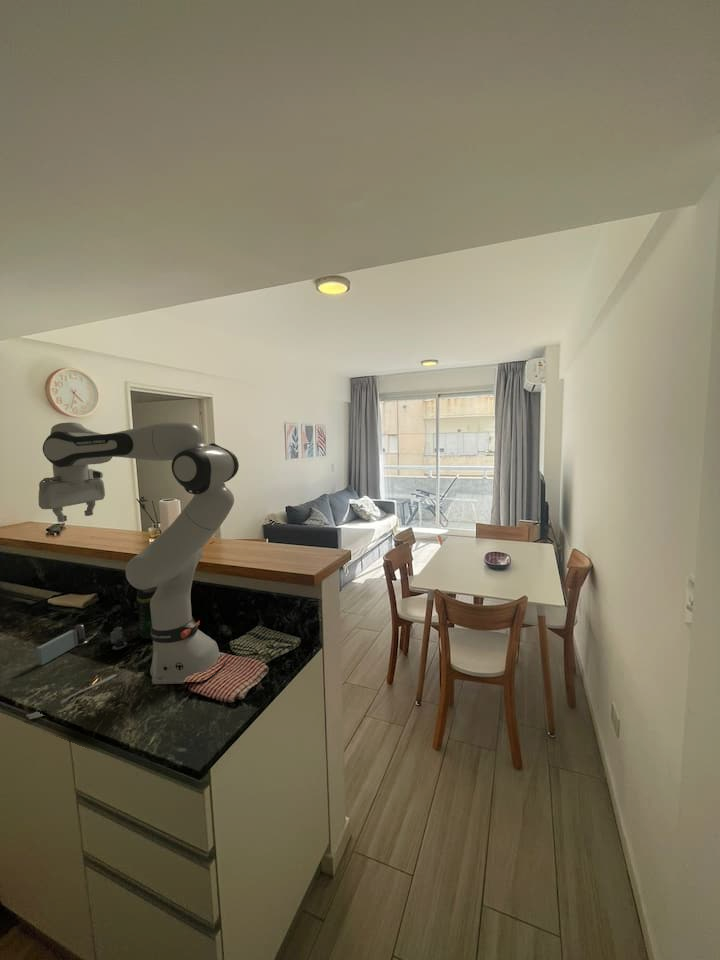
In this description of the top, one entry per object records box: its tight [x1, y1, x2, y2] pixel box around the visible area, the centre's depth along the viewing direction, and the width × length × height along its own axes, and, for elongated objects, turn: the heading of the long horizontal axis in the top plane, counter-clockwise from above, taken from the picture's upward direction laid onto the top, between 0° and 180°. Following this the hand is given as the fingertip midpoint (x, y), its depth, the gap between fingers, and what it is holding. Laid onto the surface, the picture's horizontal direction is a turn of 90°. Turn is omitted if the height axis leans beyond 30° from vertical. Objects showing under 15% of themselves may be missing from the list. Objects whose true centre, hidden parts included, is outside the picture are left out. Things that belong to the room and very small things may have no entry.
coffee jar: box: [136, 586, 158, 640], centre depth 137 cm, size 10×8×19 cm
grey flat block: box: [35, 629, 78, 666], centre depth 125 cm, size 12×2×6 cm, turn 168°
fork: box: [25, 673, 118, 720], centre depth 105 cm, size 3×24×2 cm, turn 152°
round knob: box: [74, 623, 90, 647], centre depth 133 cm, size 4×4×6 cm
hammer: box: [109, 626, 128, 651], centre depth 130 cm, size 7×5×6 cm
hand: (76, 518), depth 119 cm, fingers open, 8 cm apart
